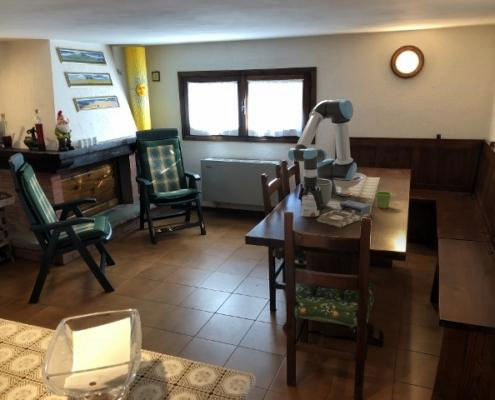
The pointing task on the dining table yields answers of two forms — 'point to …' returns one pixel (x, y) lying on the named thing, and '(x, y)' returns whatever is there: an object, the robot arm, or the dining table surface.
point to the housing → (355, 206)
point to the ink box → (308, 205)
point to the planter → (324, 190)
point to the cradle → (341, 217)
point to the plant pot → (383, 199)
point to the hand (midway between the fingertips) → (310, 213)
